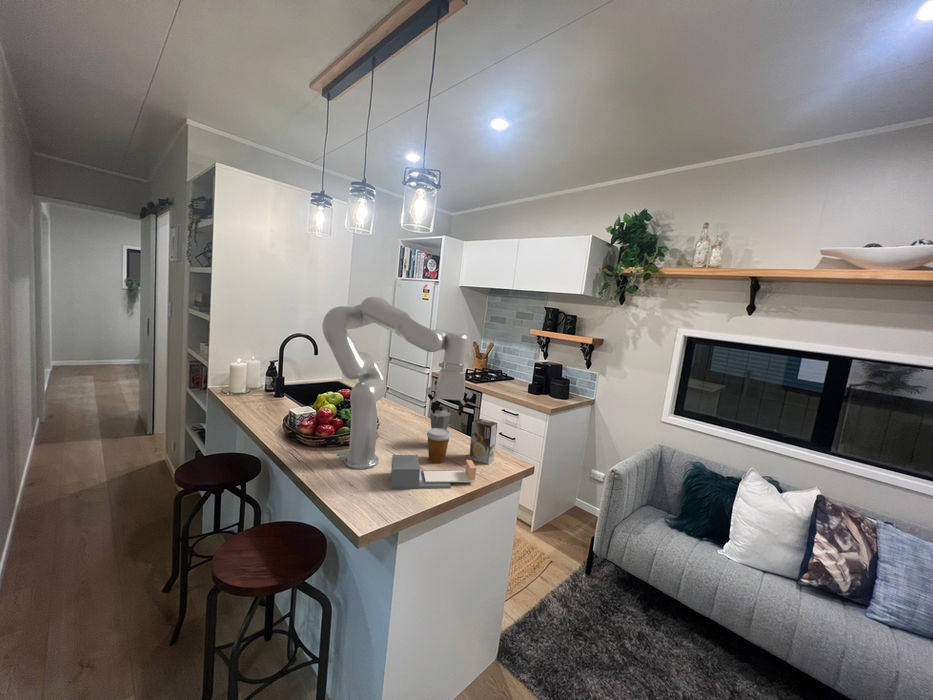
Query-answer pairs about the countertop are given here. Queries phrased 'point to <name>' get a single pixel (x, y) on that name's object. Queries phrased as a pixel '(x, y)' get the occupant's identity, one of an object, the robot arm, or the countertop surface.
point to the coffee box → (483, 441)
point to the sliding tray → (452, 474)
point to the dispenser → (411, 474)
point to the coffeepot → (440, 418)
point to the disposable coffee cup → (437, 444)
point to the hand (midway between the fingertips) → (446, 413)
